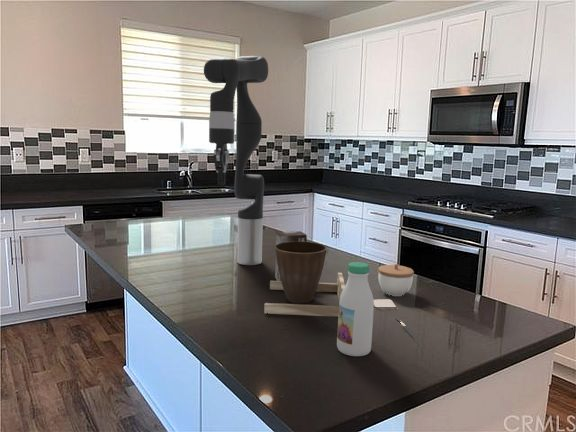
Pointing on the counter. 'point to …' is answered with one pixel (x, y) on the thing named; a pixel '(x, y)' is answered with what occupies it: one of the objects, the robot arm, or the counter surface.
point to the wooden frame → (307, 309)
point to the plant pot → (300, 269)
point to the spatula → (390, 304)
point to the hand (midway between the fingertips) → (221, 184)
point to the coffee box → (288, 237)
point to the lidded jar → (395, 279)
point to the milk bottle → (356, 312)
